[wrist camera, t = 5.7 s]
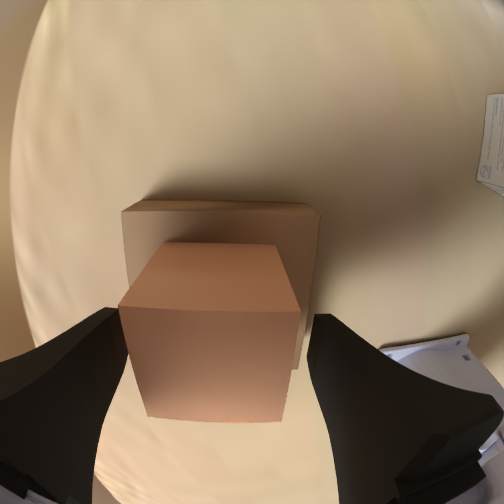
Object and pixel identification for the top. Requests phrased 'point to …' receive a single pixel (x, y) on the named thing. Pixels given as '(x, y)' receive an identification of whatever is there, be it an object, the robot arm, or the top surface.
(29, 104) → the top surface
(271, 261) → the block
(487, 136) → the light bulb box
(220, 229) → the plinth
